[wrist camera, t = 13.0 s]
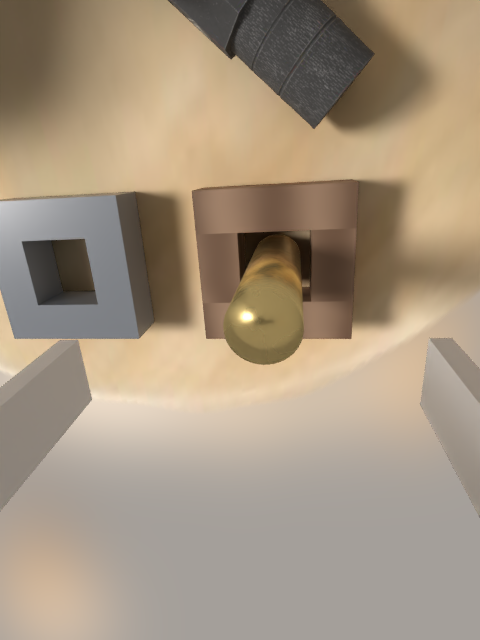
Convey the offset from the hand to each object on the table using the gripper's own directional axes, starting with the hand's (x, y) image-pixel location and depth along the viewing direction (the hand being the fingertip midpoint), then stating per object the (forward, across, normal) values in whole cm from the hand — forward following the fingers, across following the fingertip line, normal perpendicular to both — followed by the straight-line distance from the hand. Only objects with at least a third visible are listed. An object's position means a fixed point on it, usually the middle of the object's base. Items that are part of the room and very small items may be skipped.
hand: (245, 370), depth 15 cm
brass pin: (+21, +1, -1) cm, 21 cm away
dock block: (+21, +1, 0) cm, 21 cm away
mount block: (+21, -17, 0) cm, 27 cm away
